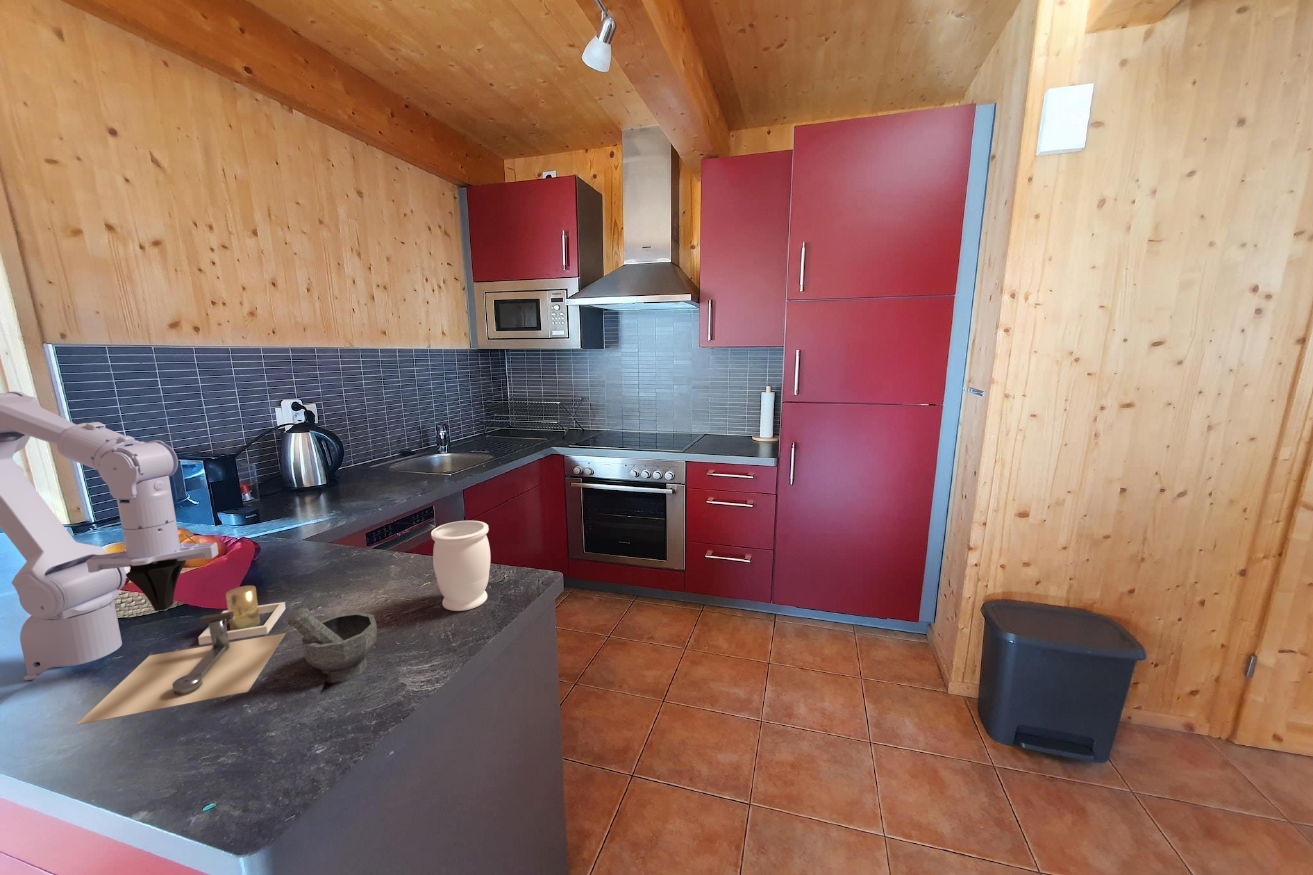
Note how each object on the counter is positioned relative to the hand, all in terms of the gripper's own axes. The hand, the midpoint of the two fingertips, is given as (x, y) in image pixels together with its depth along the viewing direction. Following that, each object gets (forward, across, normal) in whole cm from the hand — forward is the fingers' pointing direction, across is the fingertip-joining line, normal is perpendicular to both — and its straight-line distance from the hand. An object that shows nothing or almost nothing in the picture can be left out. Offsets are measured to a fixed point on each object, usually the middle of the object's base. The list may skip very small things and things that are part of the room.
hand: (164, 607), depth 77 cm
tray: (+9, +7, +7) cm, 14 cm away
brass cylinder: (+9, +7, +7) cm, 13 cm away
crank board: (+9, +6, -6) cm, 13 cm away
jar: (+10, +43, +5) cm, 44 cm away
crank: (+8, +7, -6) cm, 12 cm away
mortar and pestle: (+10, +25, -12) cm, 29 cm away
